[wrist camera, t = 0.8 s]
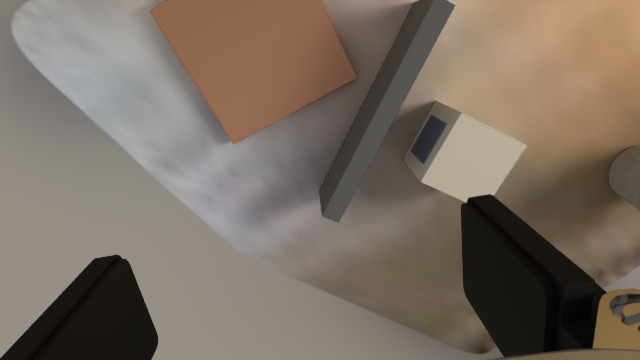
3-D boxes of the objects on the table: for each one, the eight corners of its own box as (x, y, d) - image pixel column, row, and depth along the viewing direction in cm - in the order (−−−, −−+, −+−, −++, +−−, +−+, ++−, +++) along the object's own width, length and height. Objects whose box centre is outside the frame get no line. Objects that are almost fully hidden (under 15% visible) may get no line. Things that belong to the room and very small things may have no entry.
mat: (286, -69, 29) (285, -73, 28) (355, 76, 33) (357, 77, 32) (154, 11, 30) (149, 10, 29) (235, 141, 34) (233, 144, 33)
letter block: (433, 99, 34) (460, 111, 28) (491, 128, 35) (527, 145, 29) (400, 158, 36) (419, 181, 30) (456, 184, 37) (483, 210, 31)
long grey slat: (414, 2, 31) (436, -6, 26) (429, 10, 31) (455, 5, 26) (319, 190, 36) (322, 216, 31) (333, 196, 36) (338, 222, 31)
